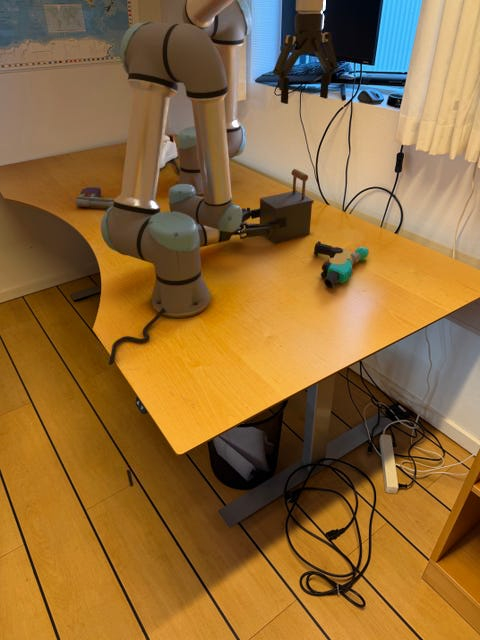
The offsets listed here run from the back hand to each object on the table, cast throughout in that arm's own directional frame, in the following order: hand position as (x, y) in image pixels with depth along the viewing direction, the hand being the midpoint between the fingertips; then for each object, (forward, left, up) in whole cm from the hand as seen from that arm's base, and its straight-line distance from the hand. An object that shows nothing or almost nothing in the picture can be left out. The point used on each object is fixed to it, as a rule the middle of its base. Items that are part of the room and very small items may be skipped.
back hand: (304, 100), depth 136 cm
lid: (-1, -4, -30) cm, 30 cm away
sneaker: (-90, 0, -40) cm, 99 cm away
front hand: (-1, -8, -34) cm, 35 cm away
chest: (-1, -5, -40) cm, 41 cm away
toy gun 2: (+26, -11, -40) cm, 49 cm away
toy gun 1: (-64, -40, -40) cm, 86 cm away
